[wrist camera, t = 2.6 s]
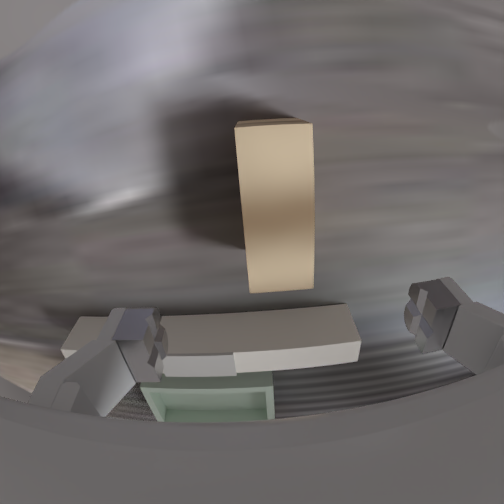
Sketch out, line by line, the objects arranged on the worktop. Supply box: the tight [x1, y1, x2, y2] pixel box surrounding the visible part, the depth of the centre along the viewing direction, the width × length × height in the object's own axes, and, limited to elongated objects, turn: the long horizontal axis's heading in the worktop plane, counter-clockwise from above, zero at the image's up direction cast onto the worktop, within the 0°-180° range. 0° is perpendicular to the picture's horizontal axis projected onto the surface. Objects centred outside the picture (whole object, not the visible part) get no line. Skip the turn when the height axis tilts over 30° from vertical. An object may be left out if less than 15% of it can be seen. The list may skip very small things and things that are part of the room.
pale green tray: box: [140, 371, 275, 422], centre depth 32 cm, size 14×8×3 cm, turn 94°
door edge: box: [60, 304, 362, 377], centre depth 26 cm, size 26×2×5 cm, turn 94°
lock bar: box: [234, 118, 315, 293], centre depth 20 cm, size 10×4×6 cm, turn 4°
